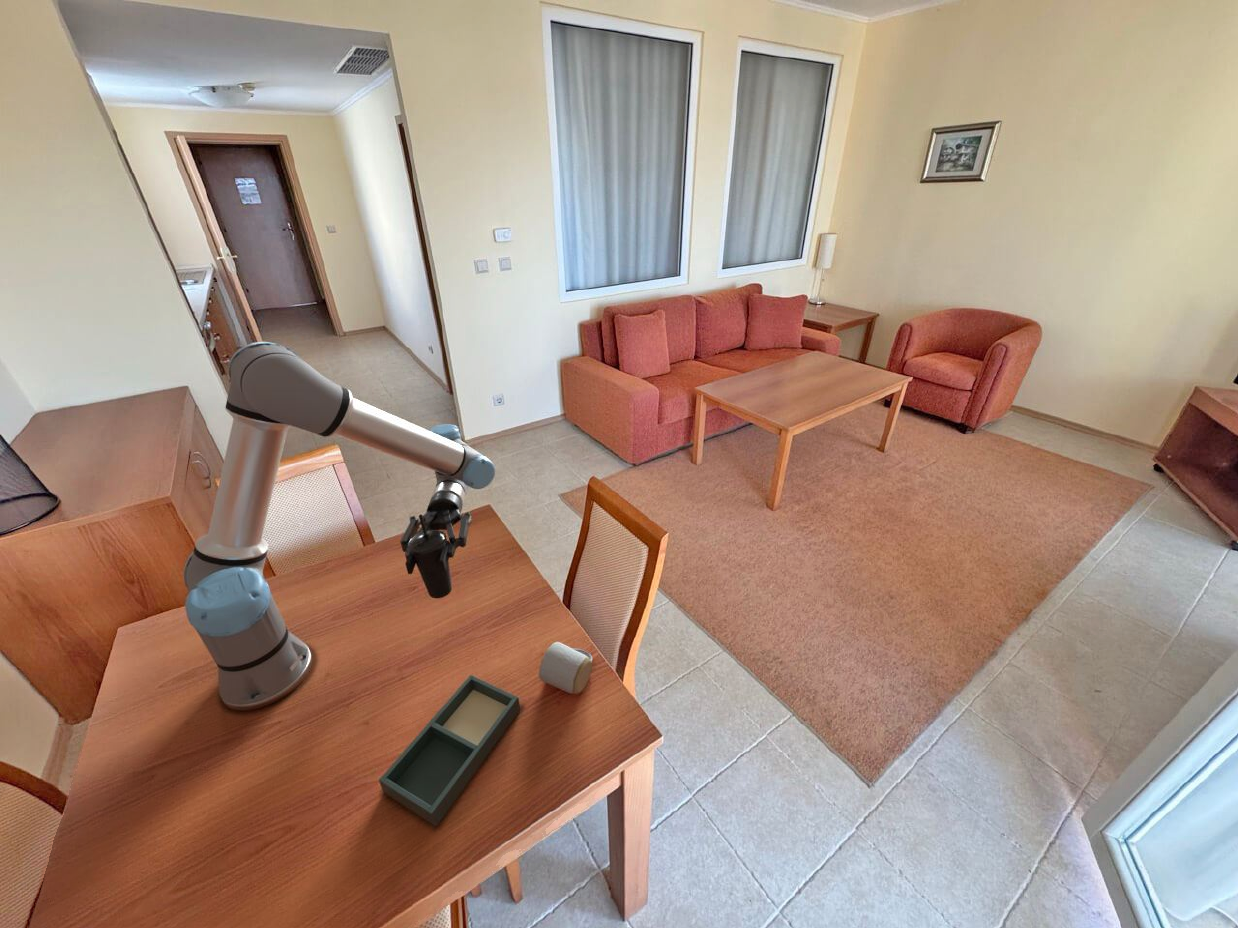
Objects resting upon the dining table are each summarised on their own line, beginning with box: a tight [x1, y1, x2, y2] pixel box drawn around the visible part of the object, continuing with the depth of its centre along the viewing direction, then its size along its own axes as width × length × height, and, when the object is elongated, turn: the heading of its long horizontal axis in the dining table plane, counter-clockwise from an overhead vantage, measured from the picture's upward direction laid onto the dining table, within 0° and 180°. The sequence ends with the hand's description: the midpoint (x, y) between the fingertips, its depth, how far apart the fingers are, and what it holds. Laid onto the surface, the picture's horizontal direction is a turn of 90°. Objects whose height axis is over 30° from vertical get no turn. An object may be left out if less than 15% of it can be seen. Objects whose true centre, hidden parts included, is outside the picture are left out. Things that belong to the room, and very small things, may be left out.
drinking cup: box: [408, 514, 453, 599], centre depth 104 cm, size 8×8×20 cm
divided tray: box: [378, 674, 521, 827], centre depth 84 cm, size 11×21×4 cm, turn 154°
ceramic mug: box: [538, 641, 593, 695], centre depth 96 cm, size 11×8×8 cm
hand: (425, 567), depth 99 cm, fingers closed on drinking cup, 6 cm apart
